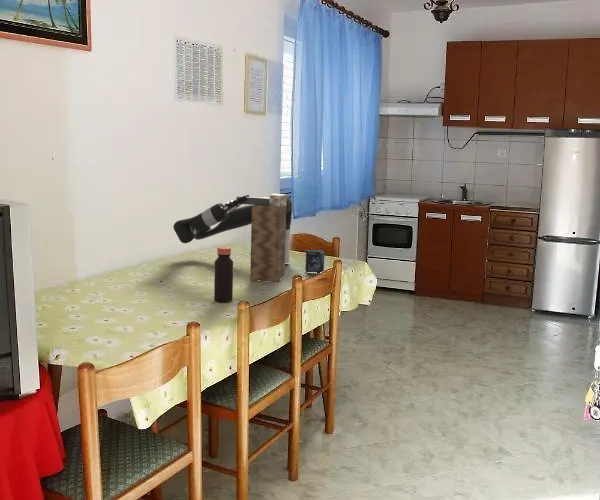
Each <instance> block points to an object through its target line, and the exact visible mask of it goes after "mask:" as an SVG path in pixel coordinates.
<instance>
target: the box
mask: <svg viewBox="0 0 600 500" xmlns="http://www.w3.org/2000/svg"><path fill="white" fill-rule="evenodd" d="M305 270H306V272H317V273H320V272H322V271H324V270H325V251H324V250H323V249H305V268H304V271H305ZM306 272H305V273H306ZM324 272H325V271H324Z"/></svg>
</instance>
